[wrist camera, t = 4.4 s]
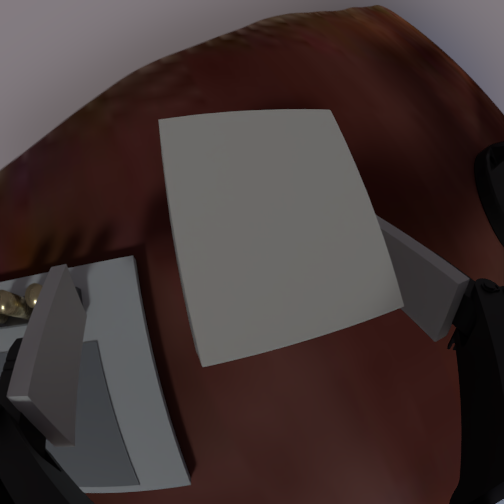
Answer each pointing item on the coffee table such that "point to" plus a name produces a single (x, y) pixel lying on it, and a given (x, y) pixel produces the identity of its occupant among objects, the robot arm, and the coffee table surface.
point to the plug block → (271, 230)
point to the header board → (113, 388)
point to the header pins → (20, 306)
